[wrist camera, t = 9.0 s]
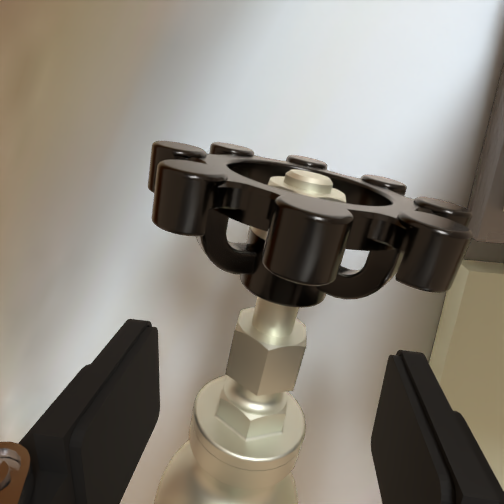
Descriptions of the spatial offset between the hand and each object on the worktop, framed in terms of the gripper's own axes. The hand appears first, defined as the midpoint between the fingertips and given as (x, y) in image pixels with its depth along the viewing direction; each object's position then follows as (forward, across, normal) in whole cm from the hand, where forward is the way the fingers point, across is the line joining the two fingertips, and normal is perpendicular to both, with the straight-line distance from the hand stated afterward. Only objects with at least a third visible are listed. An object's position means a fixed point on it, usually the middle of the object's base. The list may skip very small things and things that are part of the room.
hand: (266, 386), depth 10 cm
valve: (+3, 0, 0) cm, 3 cm away
